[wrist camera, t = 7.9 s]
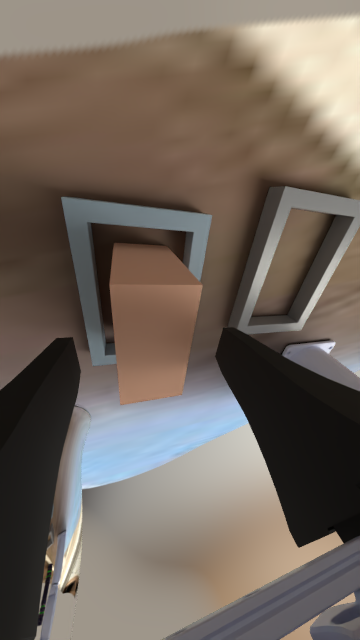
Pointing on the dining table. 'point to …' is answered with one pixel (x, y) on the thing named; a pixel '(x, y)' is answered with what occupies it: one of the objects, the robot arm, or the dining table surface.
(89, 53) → the dining table surface
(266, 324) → the grey rectangular open frame
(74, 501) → the beer glass
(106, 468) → the dining table surface
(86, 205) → the grey picture frame
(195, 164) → the dining table surface
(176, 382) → the terracotta block
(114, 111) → the dining table surface
